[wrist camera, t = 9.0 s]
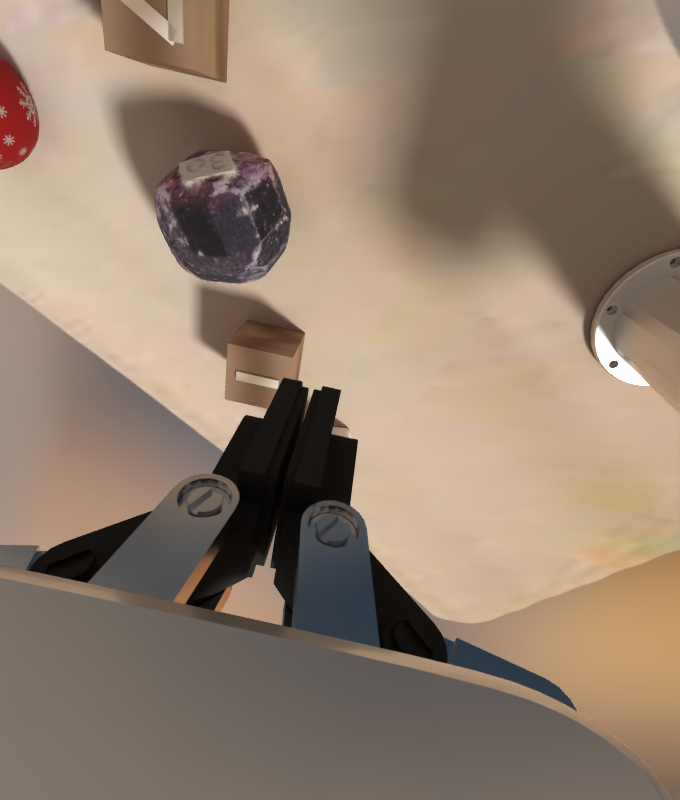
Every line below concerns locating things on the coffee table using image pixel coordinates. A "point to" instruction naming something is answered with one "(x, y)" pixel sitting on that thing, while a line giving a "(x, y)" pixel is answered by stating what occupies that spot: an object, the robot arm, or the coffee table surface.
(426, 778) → the robot arm
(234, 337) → the walnut block
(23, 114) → the christmas ornament
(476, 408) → the coffee table surface
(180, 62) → the brown cube
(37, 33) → the coffee table surface
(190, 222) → the mineral specimen
